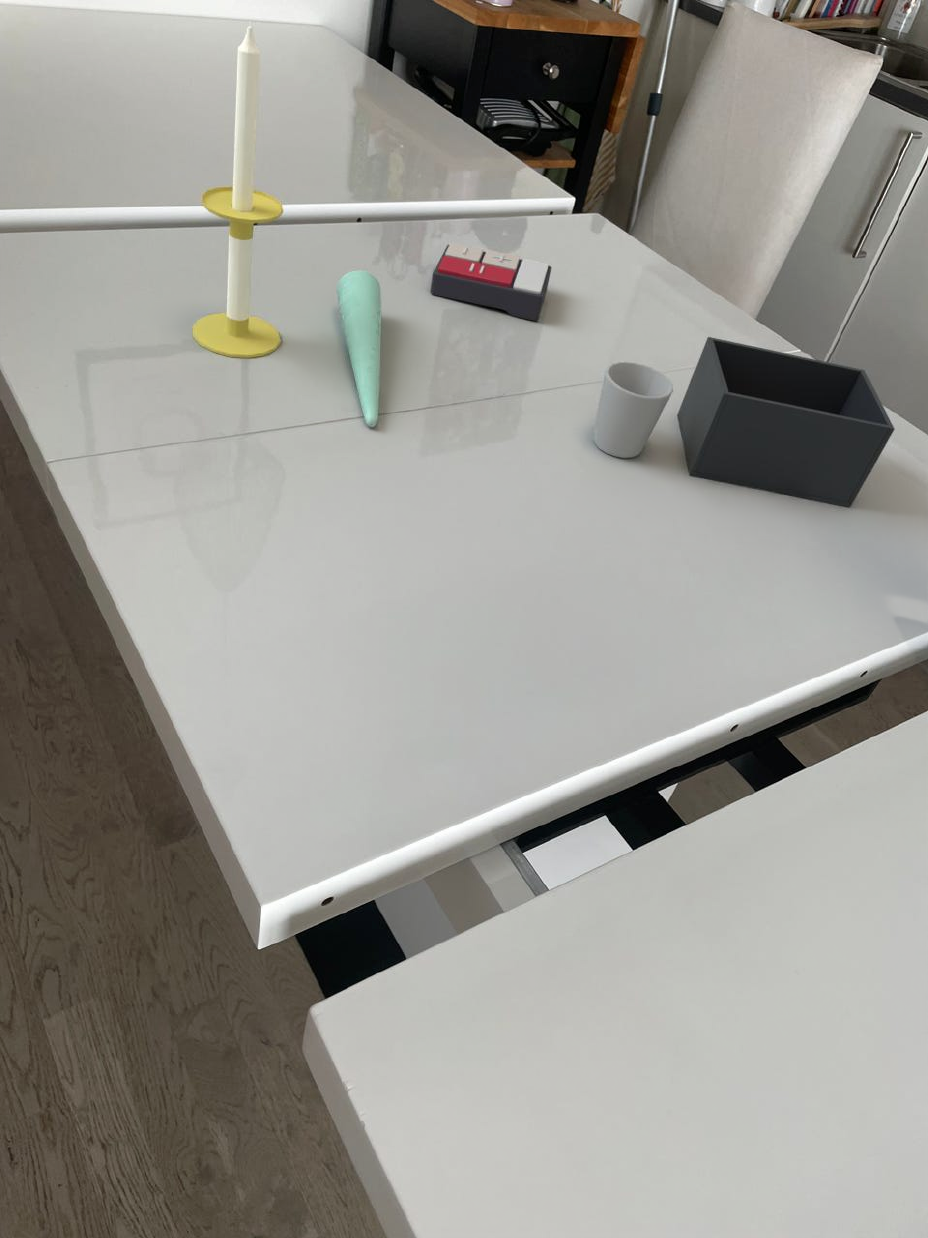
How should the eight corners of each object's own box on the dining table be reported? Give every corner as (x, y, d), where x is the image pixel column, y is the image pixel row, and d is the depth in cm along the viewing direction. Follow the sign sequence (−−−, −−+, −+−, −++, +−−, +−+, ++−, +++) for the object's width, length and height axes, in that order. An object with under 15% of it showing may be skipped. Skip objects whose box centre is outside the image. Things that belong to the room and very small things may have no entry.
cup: (589, 458, 109) (611, 391, 103) (578, 411, 116) (598, 346, 111) (654, 468, 110) (679, 402, 105) (639, 420, 118) (662, 356, 112)
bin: (825, 445, 122) (864, 369, 115) (850, 507, 112) (895, 428, 105) (676, 415, 121) (707, 336, 113) (689, 475, 111) (724, 393, 104)
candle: (185, 349, 109) (186, 21, 88) (199, 308, 117) (204, -4, 95) (275, 363, 111) (299, 44, 89) (284, 323, 118) (308, 18, 97)
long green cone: (351, 382, 101) (339, 267, 120) (345, 427, 104) (334, 309, 123) (403, 387, 102) (383, 272, 121) (395, 432, 106) (377, 314, 125)
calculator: (448, 237, 137) (553, 260, 137) (444, 267, 140) (547, 289, 140) (433, 267, 129) (544, 291, 129) (429, 298, 132) (538, 321, 132)
